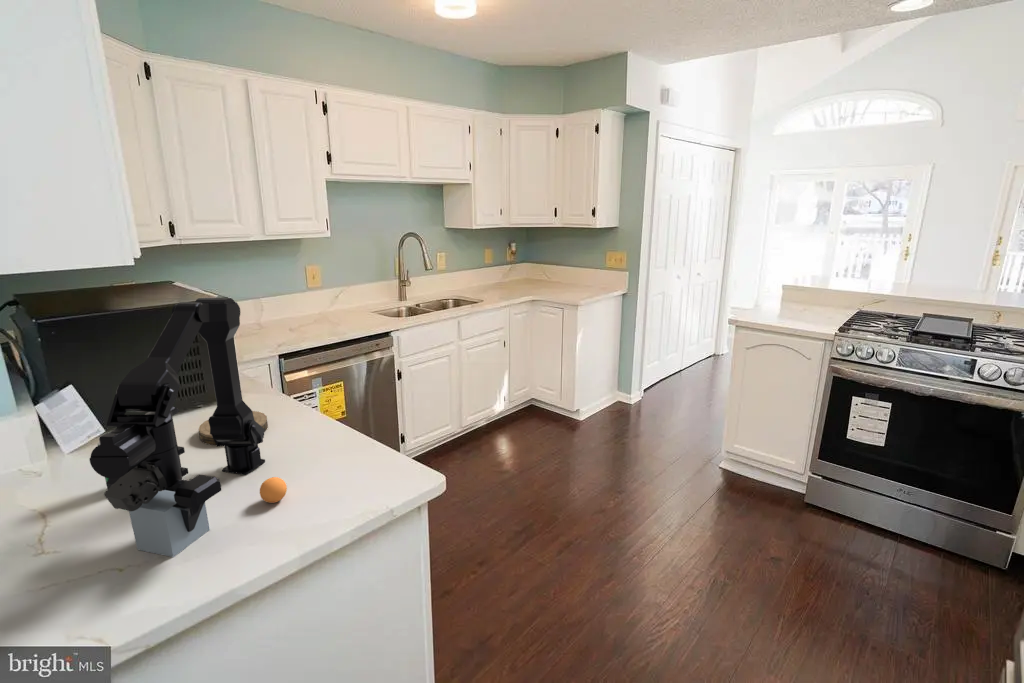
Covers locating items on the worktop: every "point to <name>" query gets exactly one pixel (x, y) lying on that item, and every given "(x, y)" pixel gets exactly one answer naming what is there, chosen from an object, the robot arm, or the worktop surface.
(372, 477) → the worktop surface
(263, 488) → the ball
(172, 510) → the matte gray cuboid
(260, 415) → the round wooden board
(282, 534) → the worktop surface
